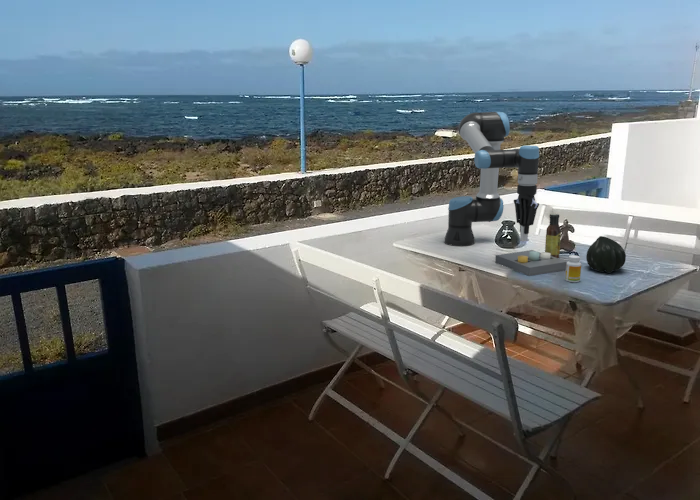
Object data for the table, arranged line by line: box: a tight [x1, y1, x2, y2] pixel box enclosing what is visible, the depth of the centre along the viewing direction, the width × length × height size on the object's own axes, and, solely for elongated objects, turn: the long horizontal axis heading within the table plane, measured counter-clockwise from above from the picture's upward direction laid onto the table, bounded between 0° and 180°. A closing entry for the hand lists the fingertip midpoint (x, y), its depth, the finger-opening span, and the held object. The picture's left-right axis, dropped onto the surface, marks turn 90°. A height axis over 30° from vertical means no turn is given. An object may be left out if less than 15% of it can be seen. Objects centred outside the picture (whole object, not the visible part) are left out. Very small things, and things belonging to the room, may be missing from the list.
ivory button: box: [540, 251, 551, 260], centre depth 226 cm, size 4×4×4 cm
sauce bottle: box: [544, 213, 562, 259], centre depth 237 cm, size 7×6×20 cm
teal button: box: [529, 250, 541, 262], centre depth 224 cm, size 4×4×4 cm
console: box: [494, 249, 569, 277], centre depth 226 cm, size 22×20×4 cm
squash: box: [585, 235, 627, 273], centre depth 217 cm, size 14×15×15 cm
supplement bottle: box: [564, 254, 582, 283], centre depth 205 cm, size 5×5×10 cm
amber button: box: [518, 255, 528, 263], centre depth 222 cm, size 4×4×4 cm
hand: (523, 240), depth 220 cm, fingers closed
